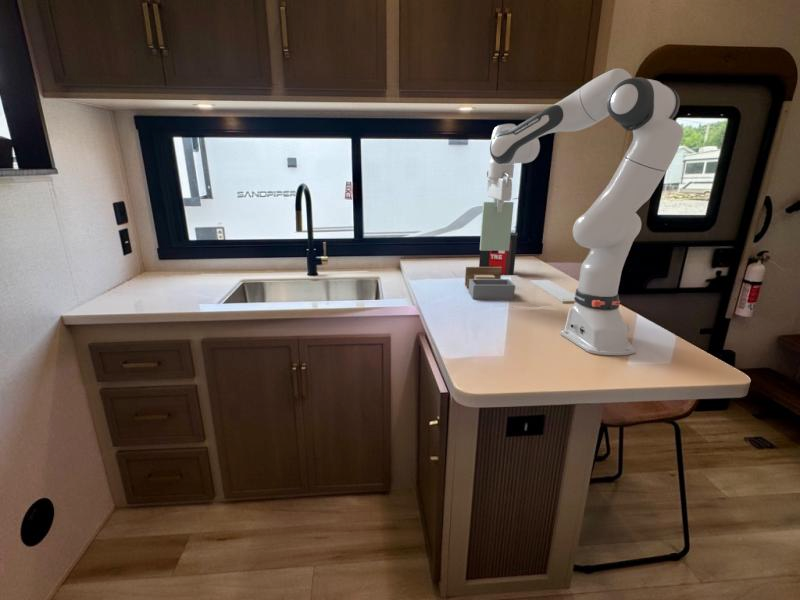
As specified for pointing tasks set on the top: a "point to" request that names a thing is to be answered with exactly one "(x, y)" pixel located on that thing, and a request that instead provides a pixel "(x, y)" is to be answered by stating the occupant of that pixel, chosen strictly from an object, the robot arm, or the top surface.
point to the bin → (491, 289)
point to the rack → (481, 273)
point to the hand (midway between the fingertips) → (497, 211)
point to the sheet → (496, 227)
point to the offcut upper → (484, 277)
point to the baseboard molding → (555, 291)
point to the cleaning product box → (501, 257)
